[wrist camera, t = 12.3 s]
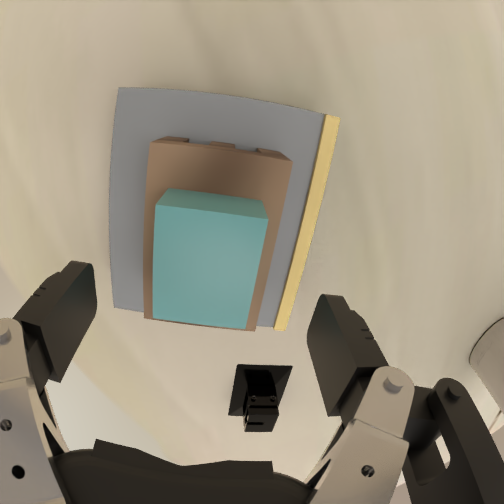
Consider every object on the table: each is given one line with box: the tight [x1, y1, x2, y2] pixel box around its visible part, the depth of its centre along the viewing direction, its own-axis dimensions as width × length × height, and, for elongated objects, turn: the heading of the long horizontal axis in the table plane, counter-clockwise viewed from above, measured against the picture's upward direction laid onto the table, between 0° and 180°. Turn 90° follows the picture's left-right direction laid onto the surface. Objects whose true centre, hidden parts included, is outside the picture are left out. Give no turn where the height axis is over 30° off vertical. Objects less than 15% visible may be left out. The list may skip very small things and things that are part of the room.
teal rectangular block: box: [153, 188, 269, 329], centre depth 12 cm, size 4×5×2 cm
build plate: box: [228, 364, 293, 432], centre depth 28 cm, size 12×7×5 cm, turn 172°
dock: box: [109, 88, 340, 331], centre depth 18 cm, size 12×14×4 cm
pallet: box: [143, 136, 293, 331], centre depth 15 cm, size 6×9×4 cm, turn 170°
